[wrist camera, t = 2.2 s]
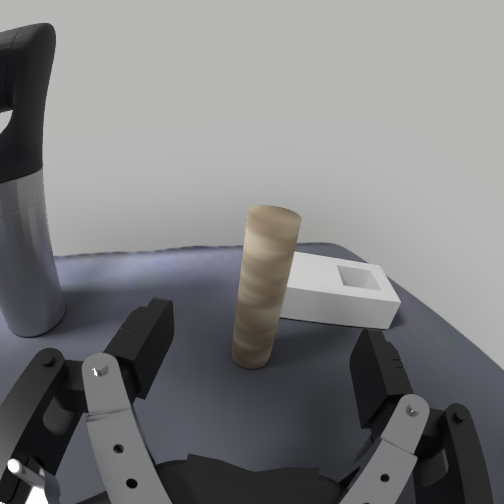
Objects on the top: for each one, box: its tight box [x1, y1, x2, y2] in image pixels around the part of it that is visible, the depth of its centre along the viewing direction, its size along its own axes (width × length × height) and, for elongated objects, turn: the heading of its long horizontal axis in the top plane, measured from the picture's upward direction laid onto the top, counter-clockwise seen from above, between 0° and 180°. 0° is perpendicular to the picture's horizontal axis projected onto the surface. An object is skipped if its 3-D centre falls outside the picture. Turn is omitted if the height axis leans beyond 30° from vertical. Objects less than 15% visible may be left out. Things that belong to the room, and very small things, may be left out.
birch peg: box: [231, 205, 301, 369], centre depth 24 cm, size 4×4×15 cm
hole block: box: [280, 252, 401, 329], centre depth 36 cm, size 18×10×4 cm, turn 84°
